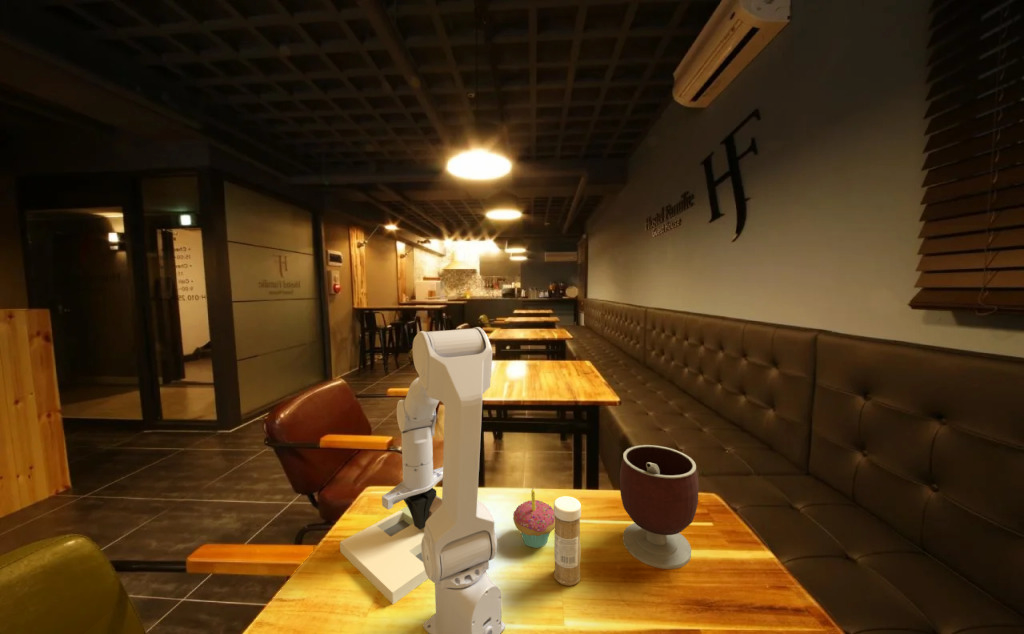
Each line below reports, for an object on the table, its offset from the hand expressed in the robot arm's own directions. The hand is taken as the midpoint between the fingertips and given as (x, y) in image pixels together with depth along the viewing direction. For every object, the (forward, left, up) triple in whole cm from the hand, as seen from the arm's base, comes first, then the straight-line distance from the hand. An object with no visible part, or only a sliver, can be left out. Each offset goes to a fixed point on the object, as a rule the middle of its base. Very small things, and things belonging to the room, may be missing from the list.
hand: (419, 526), depth 74 cm
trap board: (0, +2, -3) cm, 3 cm away
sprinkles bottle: (-27, -11, -3) cm, 29 cm away
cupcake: (-17, -15, -3) cm, 23 cm away
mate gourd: (-36, -28, -3) cm, 46 cm away
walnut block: (0, -3, -1) cm, 4 cm away
